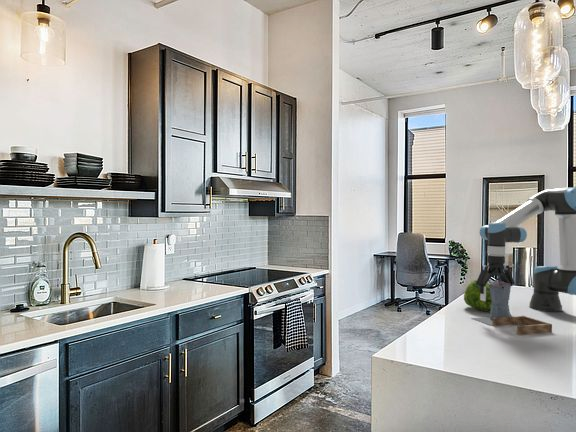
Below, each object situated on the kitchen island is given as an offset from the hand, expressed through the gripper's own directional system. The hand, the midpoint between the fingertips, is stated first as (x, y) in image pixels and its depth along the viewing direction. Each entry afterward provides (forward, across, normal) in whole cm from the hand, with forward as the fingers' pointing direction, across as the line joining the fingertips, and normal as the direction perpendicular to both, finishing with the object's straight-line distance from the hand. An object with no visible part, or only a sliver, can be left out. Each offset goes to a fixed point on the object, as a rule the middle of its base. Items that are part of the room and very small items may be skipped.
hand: (494, 300), depth 202 cm
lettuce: (+10, -12, -19) cm, 25 cm away
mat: (+10, 0, 0) cm, 10 cm away
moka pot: (+10, -4, 0) cm, 10 cm away
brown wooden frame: (+10, -1, +14) cm, 17 cm away
